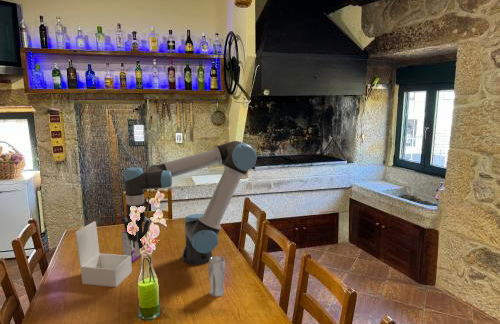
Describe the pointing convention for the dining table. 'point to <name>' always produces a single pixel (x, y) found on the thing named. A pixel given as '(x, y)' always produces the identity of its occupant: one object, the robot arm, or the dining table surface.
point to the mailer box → (106, 270)
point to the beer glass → (216, 275)
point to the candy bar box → (128, 247)
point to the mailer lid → (87, 243)
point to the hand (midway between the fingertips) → (138, 254)
